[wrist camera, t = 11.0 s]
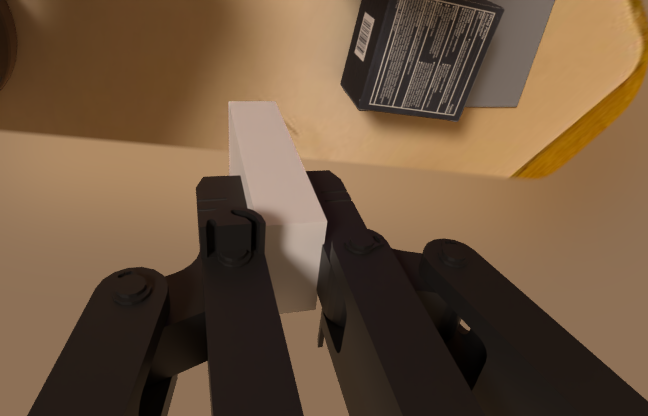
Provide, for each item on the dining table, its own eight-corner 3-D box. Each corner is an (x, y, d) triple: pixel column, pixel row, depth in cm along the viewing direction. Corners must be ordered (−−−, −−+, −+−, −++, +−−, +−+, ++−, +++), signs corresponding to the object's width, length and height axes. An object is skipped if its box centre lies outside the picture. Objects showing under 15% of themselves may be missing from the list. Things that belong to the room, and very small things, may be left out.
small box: (337, 84, 46) (430, 99, 49) (356, 111, 41) (459, 126, 44) (368, -34, 40) (471, -8, 44) (394, -19, 35) (509, 9, 38)
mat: (355, 105, 48) (356, 107, 48) (383, -76, 39) (385, -76, 38) (514, 105, 53) (516, 106, 53) (571, -56, 44) (574, -56, 44)
